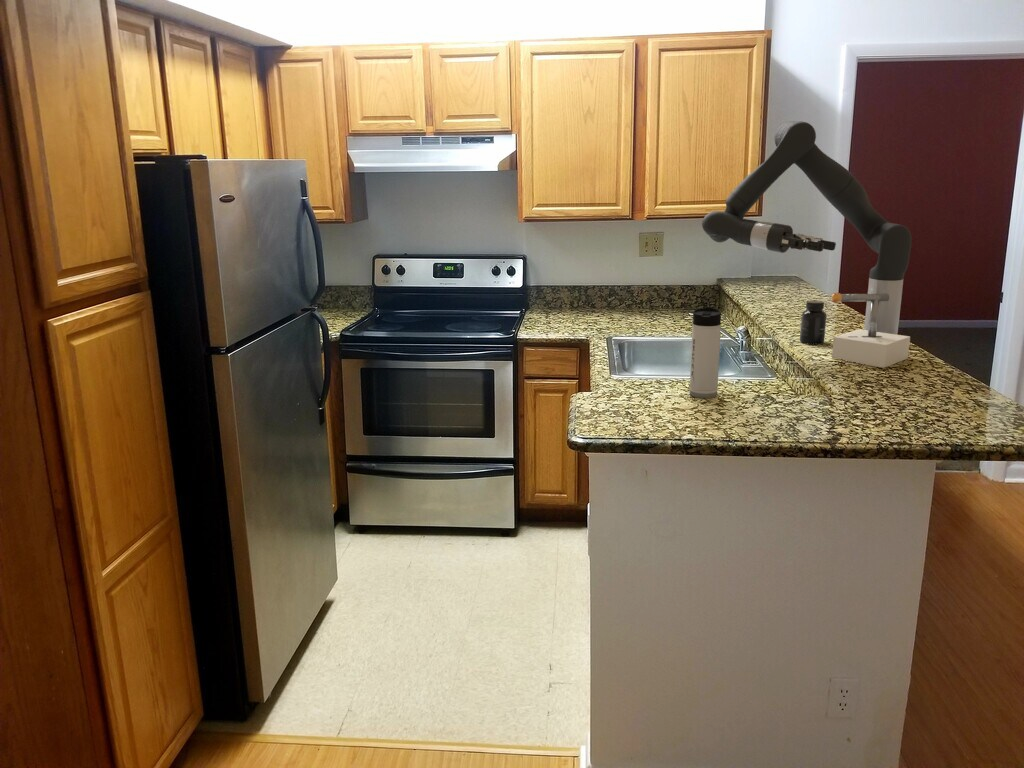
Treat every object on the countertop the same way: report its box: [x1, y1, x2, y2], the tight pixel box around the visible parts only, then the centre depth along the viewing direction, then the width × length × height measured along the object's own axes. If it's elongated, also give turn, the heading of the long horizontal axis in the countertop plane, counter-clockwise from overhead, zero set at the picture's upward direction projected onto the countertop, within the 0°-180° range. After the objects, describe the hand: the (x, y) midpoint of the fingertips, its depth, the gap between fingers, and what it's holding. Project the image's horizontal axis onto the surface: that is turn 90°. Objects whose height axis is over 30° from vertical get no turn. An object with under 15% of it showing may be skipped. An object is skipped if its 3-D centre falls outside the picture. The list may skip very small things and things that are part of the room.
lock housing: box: [831, 328, 911, 369], centre depth 213 cm, size 14×14×6 cm
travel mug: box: [689, 306, 722, 399], centre depth 182 cm, size 6×7×20 cm
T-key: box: [830, 292, 889, 336], centre depth 211 cm, size 14×3×12 cm, turn 86°
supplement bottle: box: [799, 300, 828, 345], centre depth 233 cm, size 7×7×12 cm
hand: (828, 247), depth 211 cm, fingers open, 8 cm apart
